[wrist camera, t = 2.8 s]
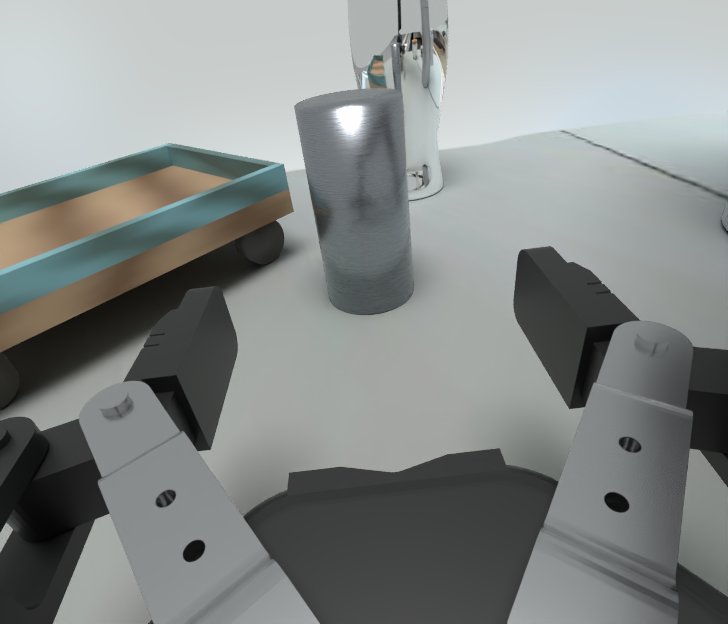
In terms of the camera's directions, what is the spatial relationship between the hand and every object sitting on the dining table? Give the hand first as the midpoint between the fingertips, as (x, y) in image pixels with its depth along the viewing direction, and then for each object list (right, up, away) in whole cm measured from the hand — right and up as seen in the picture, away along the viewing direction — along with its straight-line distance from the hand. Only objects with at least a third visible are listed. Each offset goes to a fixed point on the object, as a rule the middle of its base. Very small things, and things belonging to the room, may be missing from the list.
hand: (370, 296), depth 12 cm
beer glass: (+4, +10, +26) cm, 28 cm away
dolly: (-16, +1, +16) cm, 23 cm away
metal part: (0, +1, +13) cm, 13 cm away
